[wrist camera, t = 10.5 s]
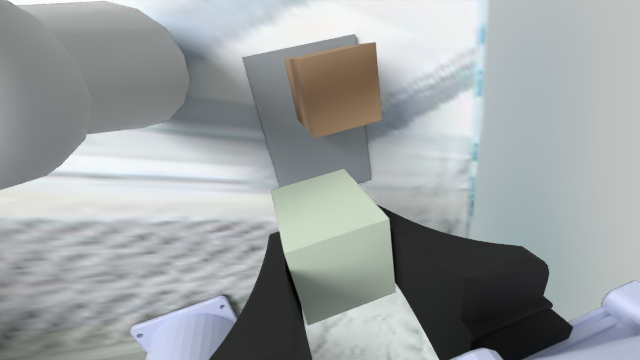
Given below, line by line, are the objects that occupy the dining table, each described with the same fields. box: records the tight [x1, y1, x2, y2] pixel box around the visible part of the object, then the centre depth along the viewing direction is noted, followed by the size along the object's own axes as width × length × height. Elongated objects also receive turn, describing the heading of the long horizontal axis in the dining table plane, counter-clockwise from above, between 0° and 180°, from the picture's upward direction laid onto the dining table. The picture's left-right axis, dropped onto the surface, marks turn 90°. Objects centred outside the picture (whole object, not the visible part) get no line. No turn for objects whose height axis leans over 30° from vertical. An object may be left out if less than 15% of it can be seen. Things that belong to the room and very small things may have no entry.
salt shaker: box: [0, 0, 190, 190], centre depth 10 cm, size 6×6×13 cm
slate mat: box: [242, 34, 371, 188], centre depth 20 cm, size 11×8×1 cm
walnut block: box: [284, 42, 382, 138], centre depth 16 cm, size 4×4×5 cm
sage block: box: [271, 169, 396, 325], centre depth 13 cm, size 4×4×5 cm
